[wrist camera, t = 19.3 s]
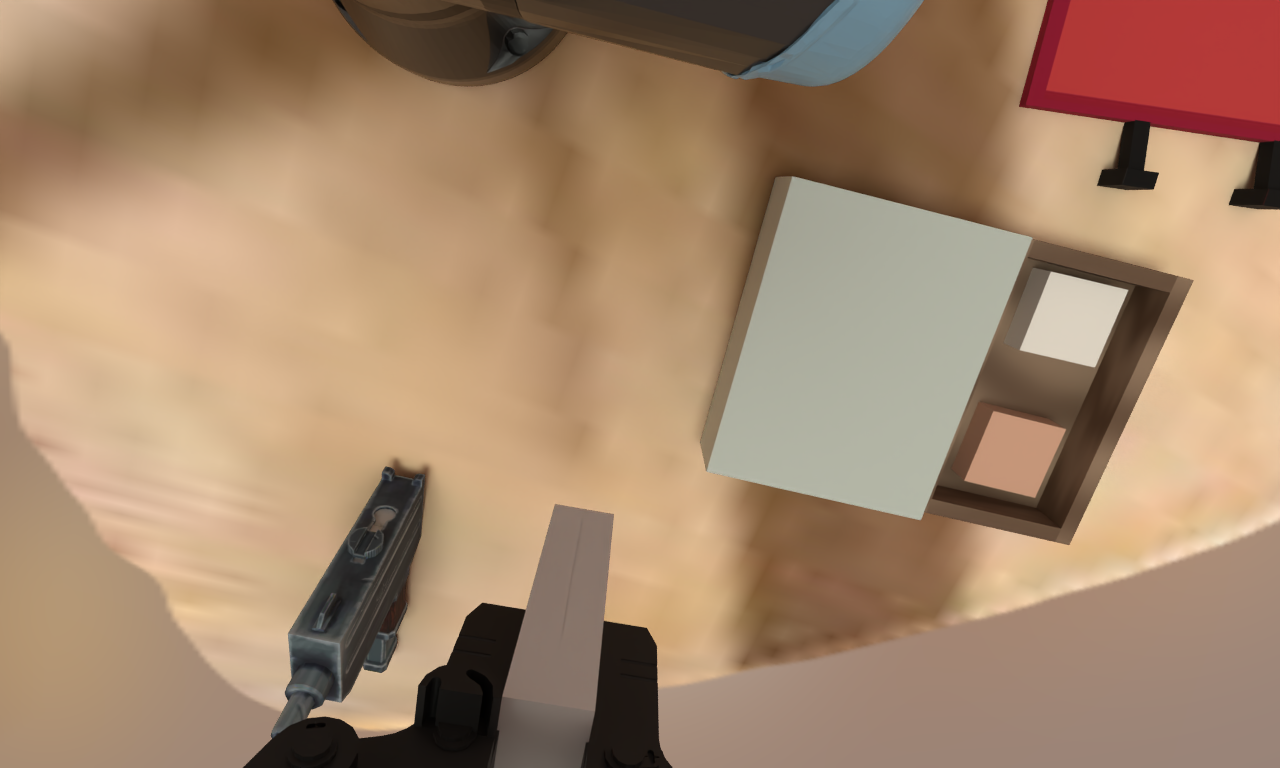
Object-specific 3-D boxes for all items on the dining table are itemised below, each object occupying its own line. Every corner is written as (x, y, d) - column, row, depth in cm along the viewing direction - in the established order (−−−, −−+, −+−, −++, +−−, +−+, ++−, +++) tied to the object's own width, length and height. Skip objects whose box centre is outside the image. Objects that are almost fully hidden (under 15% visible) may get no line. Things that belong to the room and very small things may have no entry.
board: (775, 176, 42) (792, 176, 37) (989, 231, 43) (1032, 237, 38) (700, 442, 47) (706, 471, 42) (892, 486, 48) (920, 520, 43)
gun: (269, 842, 39) (248, 686, 32) (381, 610, 54) (385, 464, 46) (316, 851, 40) (306, 697, 32) (415, 617, 54) (425, 472, 46)
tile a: (1128, 290, 41) (1107, 285, 43) (1050, 271, 41) (1032, 267, 43) (1094, 367, 43) (1075, 359, 45) (1019, 350, 43) (1003, 342, 44)
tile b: (1066, 429, 44) (1048, 418, 46) (993, 411, 44) (978, 401, 46) (1034, 497, 45) (1019, 484, 47) (964, 480, 45) (951, 468, 47)
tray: (989, 231, 43) (1018, 235, 40) (1151, 272, 44) (1193, 280, 40) (892, 486, 48) (911, 509, 45) (1039, 520, 49) (1069, 544, 45)
